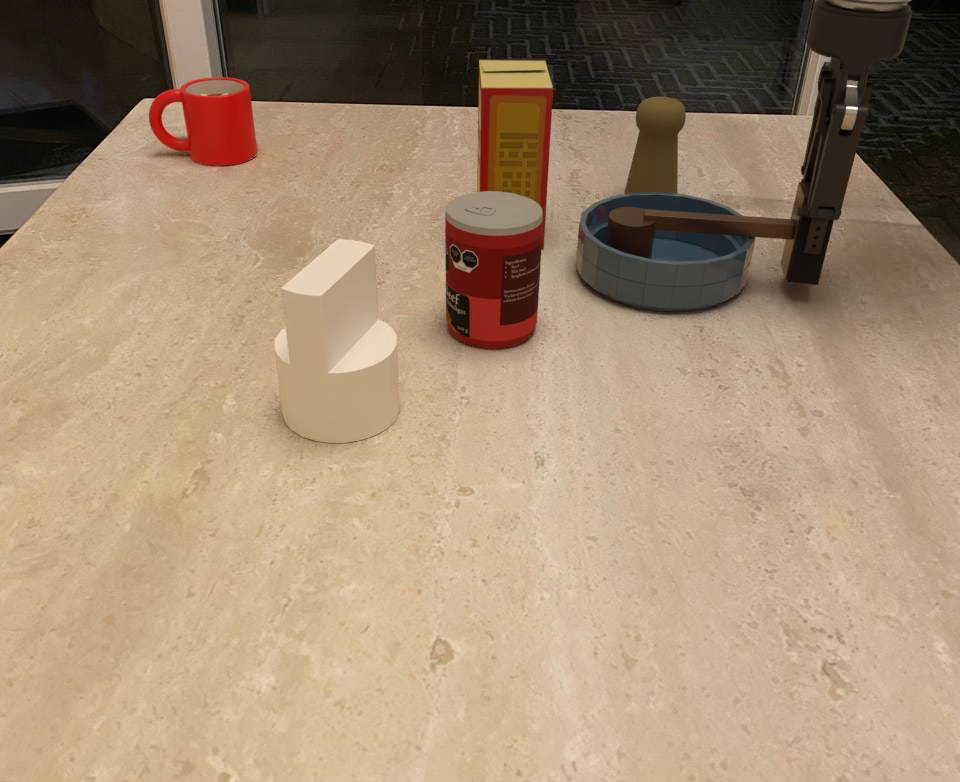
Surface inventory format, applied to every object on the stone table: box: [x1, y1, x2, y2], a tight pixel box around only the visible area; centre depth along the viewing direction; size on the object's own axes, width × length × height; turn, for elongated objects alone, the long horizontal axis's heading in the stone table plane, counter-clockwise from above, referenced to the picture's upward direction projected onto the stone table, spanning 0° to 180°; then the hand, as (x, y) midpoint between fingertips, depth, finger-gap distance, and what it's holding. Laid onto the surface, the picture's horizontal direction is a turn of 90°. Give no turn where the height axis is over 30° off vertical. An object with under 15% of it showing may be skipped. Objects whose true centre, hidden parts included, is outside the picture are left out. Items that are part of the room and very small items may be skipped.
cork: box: [623, 96, 687, 194], centre depth 107 cm, size 6×6×11 cm
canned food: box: [444, 191, 543, 349], centre depth 84 cm, size 8×8×11 cm
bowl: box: [575, 192, 756, 312], centre depth 95 cm, size 16×16×5 cm
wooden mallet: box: [606, 181, 811, 281], centre depth 92 cm, size 20×4×8 cm, turn 83°
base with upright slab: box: [273, 238, 401, 444], centre depth 74 cm, size 9×9×12 cm
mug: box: [148, 76, 258, 166], centre depth 117 cm, size 8×12×8 cm, turn 98°
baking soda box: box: [476, 58, 554, 250], centre depth 99 cm, size 10×6×16 cm
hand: (801, 270), depth 93 cm, fingers closed on wooden mallet, 4 cm apart
